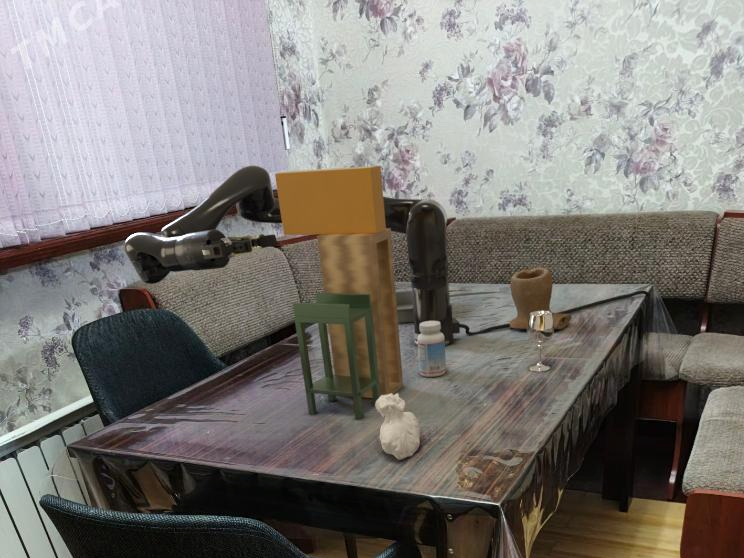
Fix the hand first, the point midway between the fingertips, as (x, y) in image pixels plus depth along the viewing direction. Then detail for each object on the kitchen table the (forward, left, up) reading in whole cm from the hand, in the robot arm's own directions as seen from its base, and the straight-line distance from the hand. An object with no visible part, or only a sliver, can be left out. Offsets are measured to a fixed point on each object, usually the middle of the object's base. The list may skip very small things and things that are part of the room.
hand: (263, 242), depth 142 cm
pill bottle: (-33, +1, -31) cm, 45 cm away
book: (-14, +5, +1) cm, 15 cm away
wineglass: (-56, +7, -31) cm, 64 cm away
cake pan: (-37, -57, -31) cm, 75 cm away
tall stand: (-18, +7, -31) cm, 36 cm away
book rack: (-11, +16, -31) cm, 37 cm away
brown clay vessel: (-66, -24, -31) cm, 77 cm away
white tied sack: (-19, +41, -31) cm, 55 cm away
